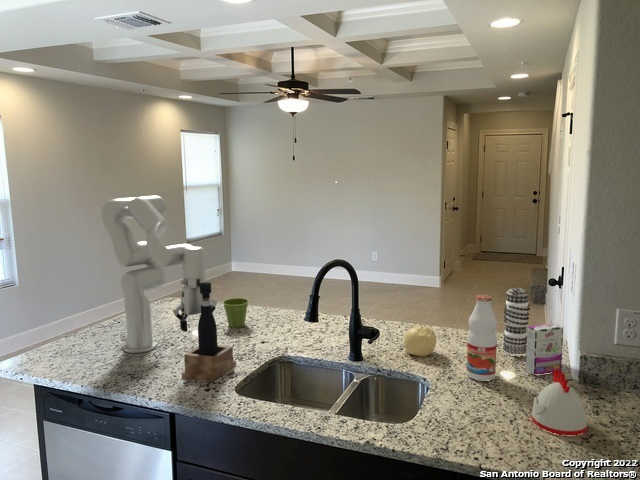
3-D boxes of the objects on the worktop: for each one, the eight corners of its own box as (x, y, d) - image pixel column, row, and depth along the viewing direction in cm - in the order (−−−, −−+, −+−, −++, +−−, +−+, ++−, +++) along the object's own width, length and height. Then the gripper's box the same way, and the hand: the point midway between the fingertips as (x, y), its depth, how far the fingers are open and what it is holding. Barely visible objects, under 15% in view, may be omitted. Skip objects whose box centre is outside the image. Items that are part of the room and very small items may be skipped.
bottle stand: (181, 377, 175) (180, 356, 174) (207, 360, 190) (206, 341, 189) (212, 382, 171) (211, 360, 170) (236, 364, 185) (235, 344, 184)
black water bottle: (214, 370, 176) (210, 286, 172) (196, 369, 178) (192, 285, 173) (220, 363, 183) (217, 281, 178) (204, 362, 184) (200, 281, 179)
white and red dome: (570, 411, 149) (573, 362, 146) (597, 436, 135) (601, 382, 133) (523, 412, 148) (525, 363, 146) (545, 437, 134) (548, 383, 132)
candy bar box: (551, 367, 180) (554, 322, 178) (561, 373, 176) (564, 327, 173) (524, 371, 177) (526, 325, 175) (533, 377, 173) (536, 330, 170)
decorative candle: (533, 356, 191) (536, 291, 188) (512, 358, 189) (515, 293, 185) (517, 347, 200) (520, 285, 196) (496, 350, 198) (499, 287, 194)
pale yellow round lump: (434, 360, 188) (434, 332, 186) (401, 357, 192) (401, 329, 190) (437, 350, 199) (438, 323, 197) (406, 346, 202) (406, 320, 201)
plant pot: (221, 323, 235) (220, 299, 234) (247, 320, 239) (246, 297, 237) (225, 330, 224) (224, 305, 222) (251, 328, 228) (251, 303, 226)
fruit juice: (496, 373, 176) (500, 294, 172) (493, 384, 167) (497, 301, 163) (468, 369, 179) (471, 291, 175) (464, 379, 171) (466, 298, 167)
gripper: (177, 287, 173) (179, 336, 175) (221, 279, 184) (222, 325, 187) (167, 283, 178) (169, 330, 181) (210, 276, 190) (211, 320, 192)
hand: (196, 327), depth 184 cm, fingers open, 9 cm apart
